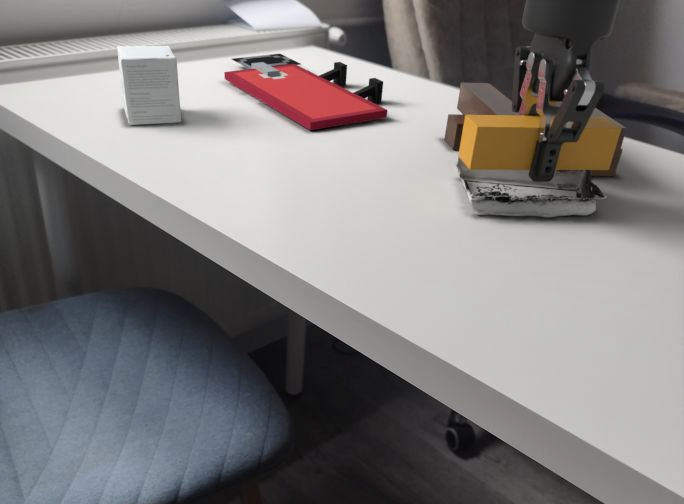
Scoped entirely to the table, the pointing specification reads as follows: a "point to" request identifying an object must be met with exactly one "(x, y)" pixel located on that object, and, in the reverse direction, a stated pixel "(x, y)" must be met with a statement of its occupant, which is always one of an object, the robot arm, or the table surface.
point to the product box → (149, 84)
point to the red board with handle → (307, 91)
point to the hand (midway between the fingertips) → (531, 171)
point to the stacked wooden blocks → (495, 103)
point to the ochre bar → (532, 143)
